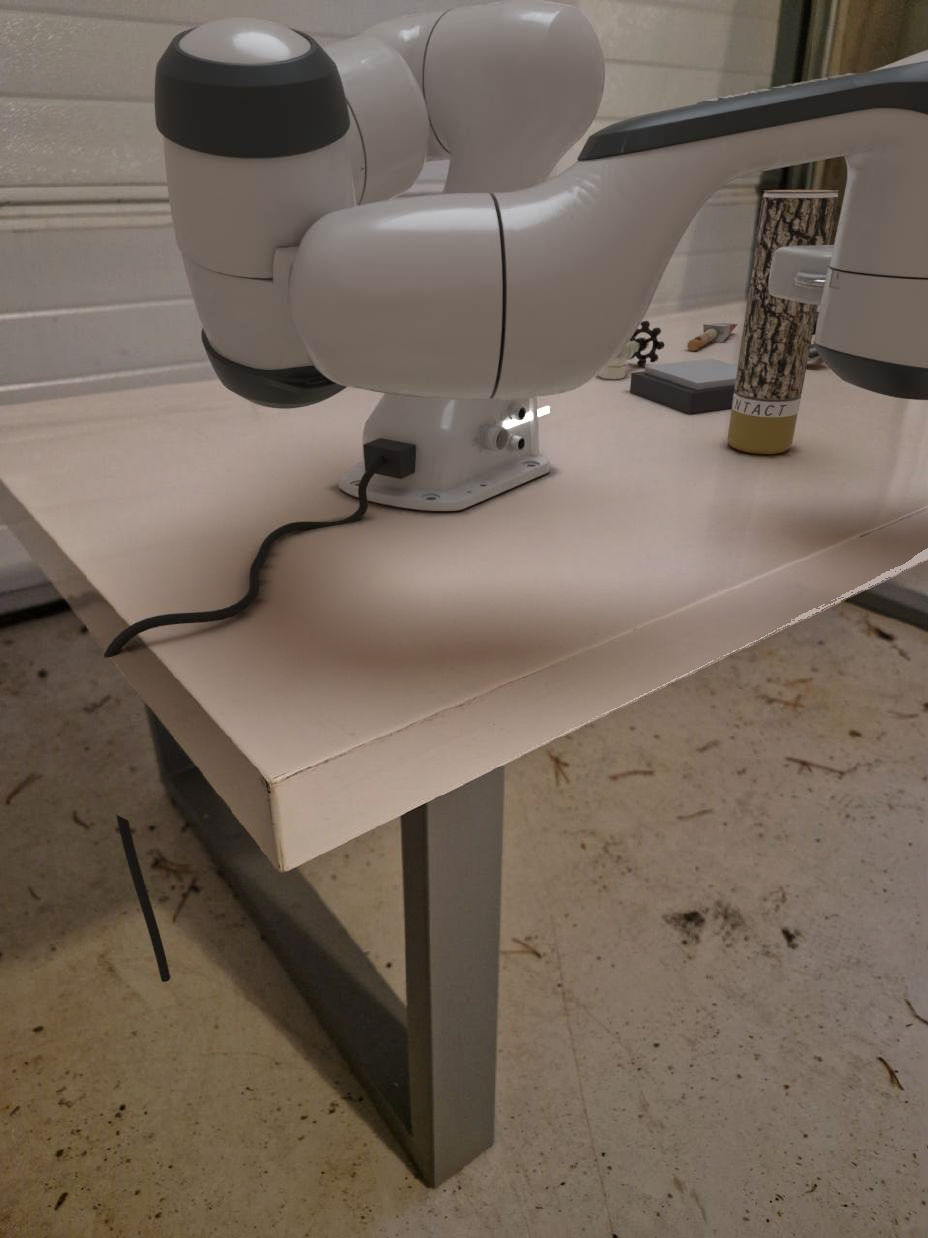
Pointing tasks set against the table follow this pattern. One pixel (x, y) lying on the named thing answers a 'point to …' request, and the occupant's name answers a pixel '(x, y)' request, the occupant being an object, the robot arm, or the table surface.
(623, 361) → the valve
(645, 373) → the scale
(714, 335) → the paintbrush
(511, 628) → the table surface
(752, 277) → the paper tube
